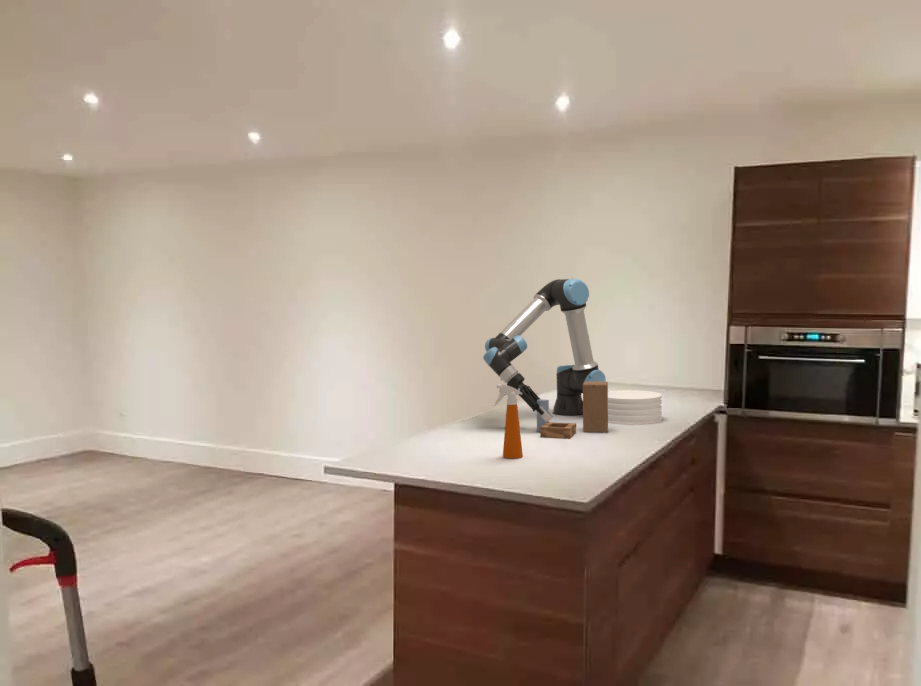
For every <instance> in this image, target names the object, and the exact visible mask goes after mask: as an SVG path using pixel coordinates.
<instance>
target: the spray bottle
mask: <svg viewBox="0 0 921 686" xmlns="http://www.w3.org/2000/svg"><path fill="white" fill-rule="evenodd" d="M496 388H497V389H499V391H498V392H499V394H498V397H497V398H496V400H495V402H494V403H493V404H492V406H493V407H495V406H496V405H498V404H499V403H500V402H501V401H502V400H503V398H505V396H507V398H506V410H505V411H506V413H505V425H504V439H503V447H502V448H503V449H502V450H503V451H502V457H503V458H505V459H509V460H510V459H512V460H514V459H515V460H516V459H517V460H518V459H521V458H523V457H524V455H523V445H522V438H521V429H520V428H521V426H520V418H519V409H518V398H517V396H519V395H518V394H520V393H521V392H520V391H518V390H517V389H515V388H513V387H510V386H508V385H507V384H505V383H504V384H502V383H497V385H496Z"/></svg>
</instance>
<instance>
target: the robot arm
mask: <svg viewBox="0 0 921 686" xmlns="http://www.w3.org/2000/svg"><path fill="white" fill-rule="evenodd" d="M589 297H590V290H589V286H588V285H587V284H586V283H585V282H584V281H583V280H581V279H577V278H565V279H563V278H562V279H554V280H552V281H549V282H548V283H547V284H545V285H544V286H543V287H541V288H540V289H539V290H538V291H537V292H536V294H534V295H533V300H531V301H530V302H529V303H528V305H526V306H525V307H524V308H523V310H521V311H520V312H519V313H518V314H517V316H516V317H514V319H512V321H510V322H509V323H508V324H507V326H505V327H504V328H503V329H502V330H501V331H500V332H499V333H498V334H497V335H496V336H495V337H492V338H491V337H490V338H488V339H487V340H486V341H485V344H484V349H485V352H486V353H484V355H483V357H482V359H483V361H484V362H485V363H486V364H487V367H489V368H490V369H491V370H492V371H493V372H494V373H495V374H496V375H497V376H498V377H499V378H500V381H503V383H504V384H506V385H508V386H510V387H513V388H515V389H517V390H518V391H520V392H521V393H520V394H518V395H517V396H519V397H520V398H521V399H522V400H523V402H525V403H526V404H527V406H529V408H530V409H531V410H532V412H536V414H537V413H538V414H539V415H540V416H541V417H542V418H543V419H544V420H545V421H546V422H547V421H548V420H549V421H551V420H552V419H553V418H554V417H555V416H554V414H555V415H561V416H578V415H579V416H580V415H583V395H582V394H583V383H584V382H585V381H595V382H607V381H606V375H605V373H604V372H603V371H602V370H600V369H599V364H598V362H597V361H595V360H594V355H593V351H592V350H593V349H592V346H591V341H590V335H589V330H588V326H587V320H586V315H585V309H586V308H587V302H588V301H589V300H588V299H589ZM558 305H559V308H560V312H562V313H563V314H564V316H565V321H566V326H567V332H568V336H569V341H570V345H571V352H572V356H573V361H574V364H569V365H568V364H567V365H558V366H557V367H556V374H555V375H556V399H555V402H554V405H553V407H552V408H553V410H552V411H553V413H552V412H551V411H550V410H549V415H548V413H547V412H546V411H545V410H544V409H543V408H542V407H541V406H540V407H539V405H538V404H537V400H539V399H541V398H540V397H539V395H538V394H537V393H536V392H535V391H534V390H533V389H532V388H531V386H530V385H527V384H525V383H524V381H525V379H526V378H525V377H524V376H523V375H522V374H521V373H520V372H519V370H517V368H515V366H514V365H513V364H512V361H513V360H516V358H518V357H519V356H520V355H523V353H524V352H525V351H526V350H527V349H528V342H526V339H524V337H522V334H523V333H525V332H526V331H528V329H529V328H530V327H531V326H532V325H533V324H534V323H535V322H536V321H537V320H538V319H539V318H540V317H541V316H542V315H543V314H544V313H545V312H548V311H550V310H551V309H552V308H553V307H556V306H558Z"/></svg>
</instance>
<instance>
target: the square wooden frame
mask: <svg viewBox="0 0 921 686" xmlns="http://www.w3.org/2000/svg"><path fill="white" fill-rule="evenodd" d="M539 432H540V438H547V439H548V438H551V439H566V438H568V439H569V440H571V438H573V437H574V434H575V435H576V434H577V423H575V422H574V423H571V422H551V421H549V422H547V423H546V424H544V425H543V426H541V427H540V431H539Z"/></svg>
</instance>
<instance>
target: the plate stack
mask: <svg viewBox="0 0 921 686" xmlns="http://www.w3.org/2000/svg"><path fill="white" fill-rule="evenodd" d="M662 397H663V395H662V393H660V392H655V391H651V390H650V391H648V390H637V389H636V390H634V389H633V390H630V389H628V390H624V389H623V390H619V389H617V390H608V424H613V425H622V426H623V425H624V426H629V425H630V426H639V425H640V426H641V425H642V426H643V425H651V424H657V423H660V422H662V419H663V418H662V407H663V406H662V402H663V400H662Z"/></svg>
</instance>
